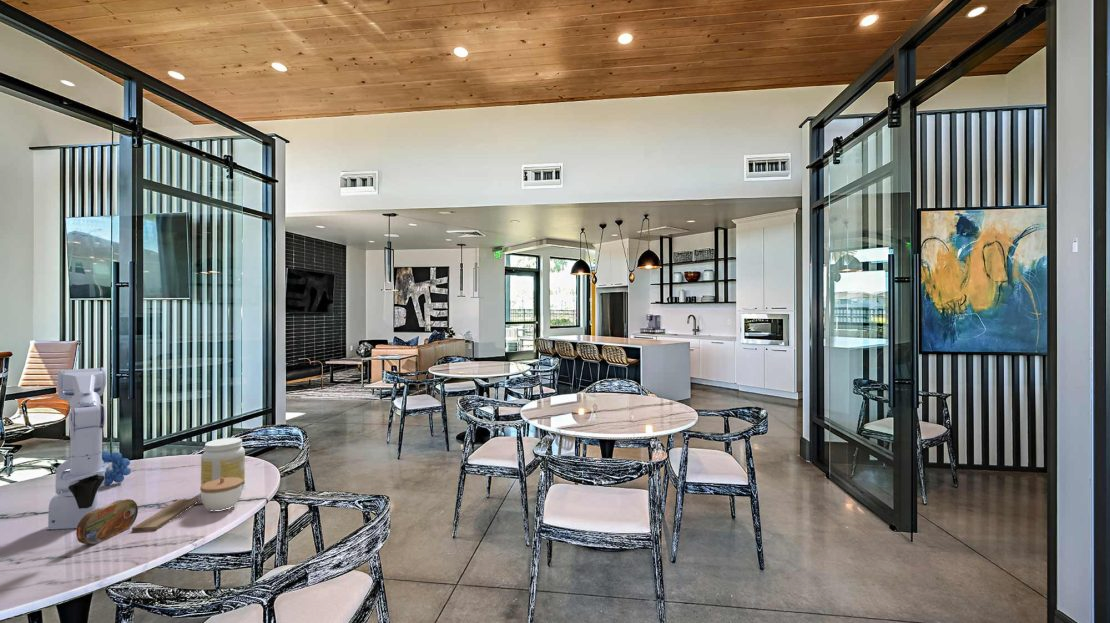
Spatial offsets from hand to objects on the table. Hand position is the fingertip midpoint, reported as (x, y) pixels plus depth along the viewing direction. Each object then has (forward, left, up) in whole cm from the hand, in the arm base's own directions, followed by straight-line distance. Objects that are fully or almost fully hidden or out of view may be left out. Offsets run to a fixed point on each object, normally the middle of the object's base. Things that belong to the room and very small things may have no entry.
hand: (85, 507), depth 119 cm
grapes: (-29, +49, -11) cm, 58 cm away
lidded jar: (+20, +23, -11) cm, 33 cm away
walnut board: (+8, +19, -11) cm, 23 cm away
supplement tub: (+13, +38, -11) cm, 42 cm away
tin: (0, +7, -11) cm, 13 cm away
